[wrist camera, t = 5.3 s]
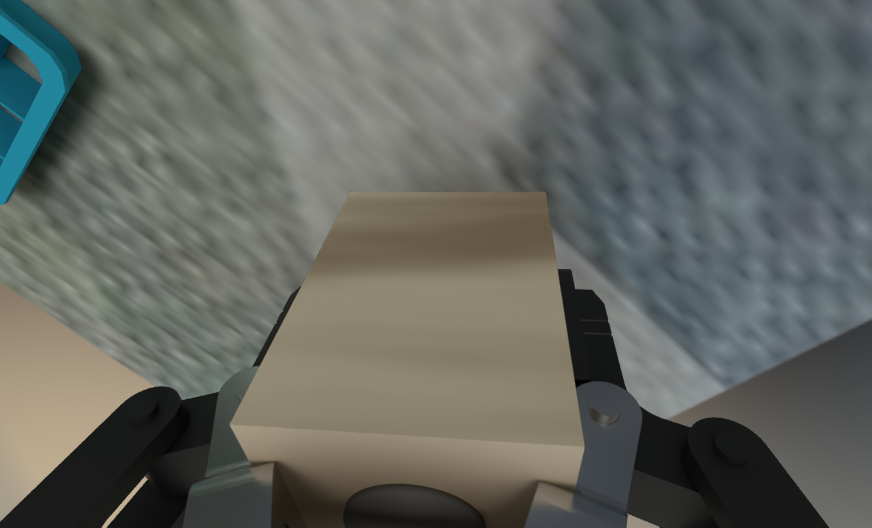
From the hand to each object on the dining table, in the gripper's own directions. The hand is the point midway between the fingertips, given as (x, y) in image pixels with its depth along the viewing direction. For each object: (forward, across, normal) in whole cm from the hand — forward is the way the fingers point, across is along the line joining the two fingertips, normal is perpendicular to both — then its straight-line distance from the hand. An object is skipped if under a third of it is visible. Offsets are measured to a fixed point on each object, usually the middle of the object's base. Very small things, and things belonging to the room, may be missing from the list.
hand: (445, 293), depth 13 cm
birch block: (+1, 0, 0) cm, 1 cm away
